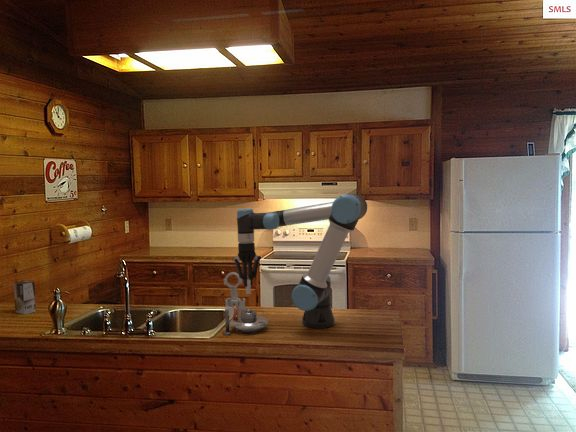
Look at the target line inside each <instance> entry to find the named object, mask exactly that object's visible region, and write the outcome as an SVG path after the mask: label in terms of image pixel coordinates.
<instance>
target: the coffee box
mask: <svg viewBox="0 0 576 432" xmlns="http://www.w3.org/2000/svg"><path fill="white" fill-rule="evenodd" d="M35 285H36V284H35V281H30V280H20V281H16V282H13V292H14V293H13V294H14V295H13V296H14V308H15V313H17V314H20V315H29V314H33V313H36V312H37V310H36V309H37V306H36V287H35Z"/></svg>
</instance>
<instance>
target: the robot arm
mask: <svg viewBox="0 0 576 432" xmlns="http://www.w3.org/2000/svg"><path fill="white" fill-rule="evenodd" d="M236 211H237V212H236V224H237V247H238V248H237V249H238V251H237V256H236V257H235V258H233V259H232V260H233V262H234V264H235V266H236V269H237V270H236V271H237V274H239V278H241V279H242V281H243V286H244V287H245V294H247V295H250V294H251V295H252V290H251V289H252V286H253V279H255V278H256V277H257V273H258V268H259V262H260V260H261V259H262V257H261V256H260V255H258V254H257V253H256V249H255V247H256V246H255V230H268V231H269V230H277V229H278V228H280V227H281V228H282V227H286V226H293V225H301V224H307V223H313V222H319V221H320V222H321V221H327V220H328V222H329V225H328V228H327V230H326V232H325V234H324V237H323V239H322V241H321V243H320V245H319V247H318V250H317V251H316V254H315V255H314V259H313V260H312V263H311V265H310V268H309V269H308V271H307V272H306V273H303V274H302V276H301V278H300V281H299V283H298V285H296V286H295V287H294V288H293V290H292V292H291V300H292V302H293V305H294V306H295V307H296V308H297V309H298V310H300V311H304V312H303V314H302V320H301V323H302V325H303V326H304V327H307V328H310V329H325V328H326V329H328V328H331V327H333V326H335V325H336V323H335V321H336V319H335V316H334V314H333V310H332V307H331V306H332V305H331V303H332V299H331V298H332V297H331V296H332V295H331V294H332V288H331V284H332V282H331V277H330V276H329V275H330V274H331V271H332V268H333V266H334V264H335V262H336V260H337V258H338V255H339V253H340V251H341V250H342V248H343V245H344V243H345V241H346V239H347V237H348V235H349V233H350V232H354V230H355V228H356V226H357V224H358V222H359V221H360V220H361V219H362V218H364V217H365V215H366V214H367V212H368V203H367V200H366V199H365V198H364V197H363V196H362V195H360V194H356V193H344V194H342V195H339V196H338V197H337V198H335V199H334V201H331V202H325V203H320V204H313V205H307V206H305V205H304V206H301V207H294V208H288V209H287V208H286V209H282V210H275V211H269V212H254V208H239V209H238V210H236ZM240 261H241V264H242V265H241V264H240ZM253 261H254V262H253ZM241 266H242V267H241Z"/></svg>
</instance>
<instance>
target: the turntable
mask: <svg viewBox="0 0 576 432" xmlns="http://www.w3.org/2000/svg"><path fill="white" fill-rule="evenodd" d="M233 308H234V315H232V319H231V320H229V327H230V328H232V329H234V330H236V329H238V330H256V329H261V328H262V329H264V328H266V327H267V326H268V325H269V320H268V318H266V317H265V316H259V315H257V321H256V322H253V323H243V322H241V316H239V314H238V306H233Z"/></svg>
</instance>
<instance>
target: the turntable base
mask: <svg viewBox="0 0 576 432" xmlns="http://www.w3.org/2000/svg"><path fill="white" fill-rule="evenodd" d="M262 331H263V328H261V329H256V330H238V329H235V332H237V333H240V334H246V335H247V334H249V335H250V334H256V333H261V332H262Z"/></svg>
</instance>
